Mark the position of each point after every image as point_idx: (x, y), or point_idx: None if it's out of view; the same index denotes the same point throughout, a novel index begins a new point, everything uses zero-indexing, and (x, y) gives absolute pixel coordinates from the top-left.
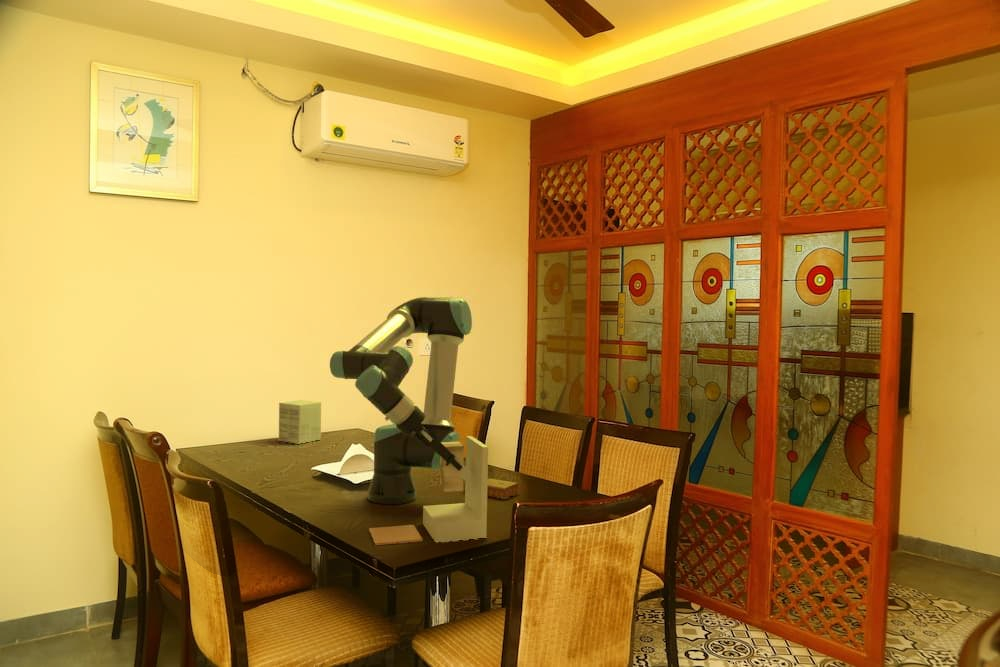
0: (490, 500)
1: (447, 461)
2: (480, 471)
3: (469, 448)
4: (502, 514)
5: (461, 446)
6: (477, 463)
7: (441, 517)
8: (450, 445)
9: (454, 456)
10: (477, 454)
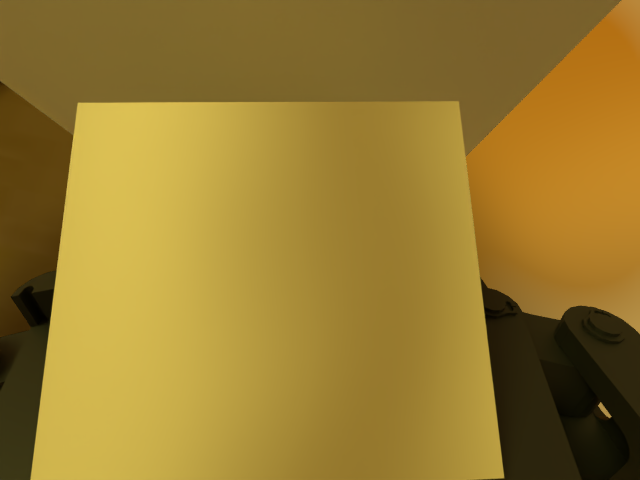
0: (12, 93)
1: (591, 413)
2: (466, 113)
3: (77, 22)
4: None
5: (458, 145)
6: (396, 87)
7: None
8: (400, 336)
9: (627, 326)
10: (413, 23)
